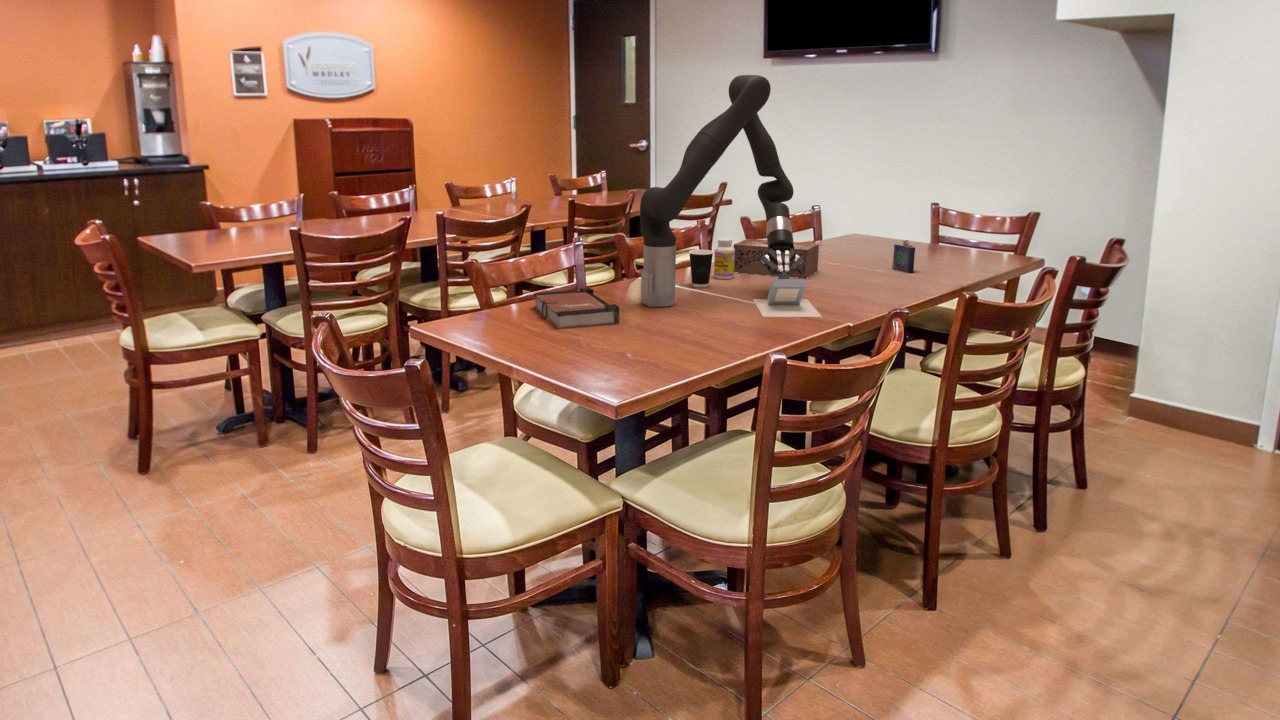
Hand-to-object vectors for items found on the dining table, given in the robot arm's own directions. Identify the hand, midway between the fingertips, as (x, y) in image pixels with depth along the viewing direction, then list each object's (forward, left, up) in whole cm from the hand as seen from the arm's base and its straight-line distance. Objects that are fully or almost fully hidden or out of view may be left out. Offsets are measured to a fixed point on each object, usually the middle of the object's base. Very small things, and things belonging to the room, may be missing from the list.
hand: (784, 284), depth 254 cm
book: (-60, +10, -7) cm, 61 cm away
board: (-1, -4, -6) cm, 8 cm away
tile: (0, 0, -5) cm, 5 cm away
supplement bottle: (+3, +45, -7) cm, 46 cm away
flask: (+67, +35, -7) cm, 76 cm away
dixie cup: (-10, +35, -7) cm, 37 cm away
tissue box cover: (+24, +48, -7) cm, 54 cm away
